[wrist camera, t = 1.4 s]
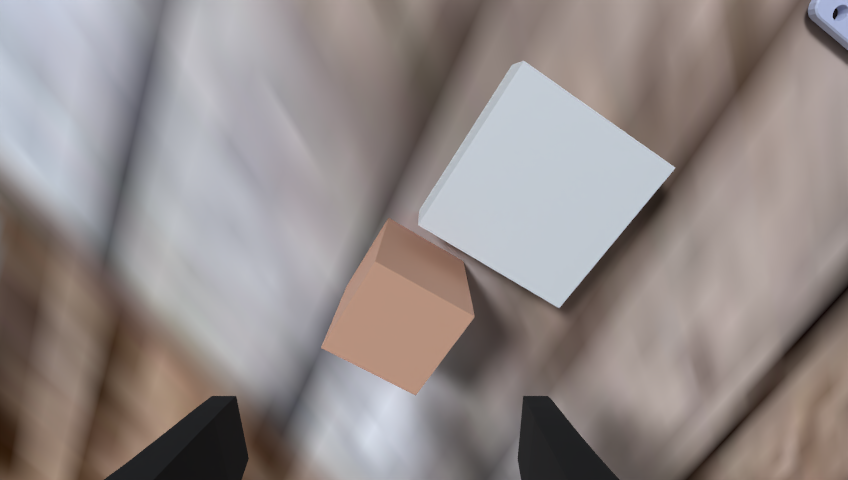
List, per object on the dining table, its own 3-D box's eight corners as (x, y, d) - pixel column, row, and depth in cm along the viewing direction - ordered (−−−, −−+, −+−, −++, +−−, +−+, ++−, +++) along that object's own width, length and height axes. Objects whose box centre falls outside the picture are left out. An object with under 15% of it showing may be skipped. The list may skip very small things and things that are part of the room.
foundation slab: (642, 157, 18) (675, 167, 15) (543, 282, 20) (559, 308, 17) (510, 65, 17) (523, 60, 14) (419, 208, 19) (418, 225, 16)
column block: (463, 261, 19) (474, 316, 14) (418, 324, 20) (415, 395, 16) (388, 217, 18) (375, 261, 14) (346, 286, 20) (321, 347, 15)
